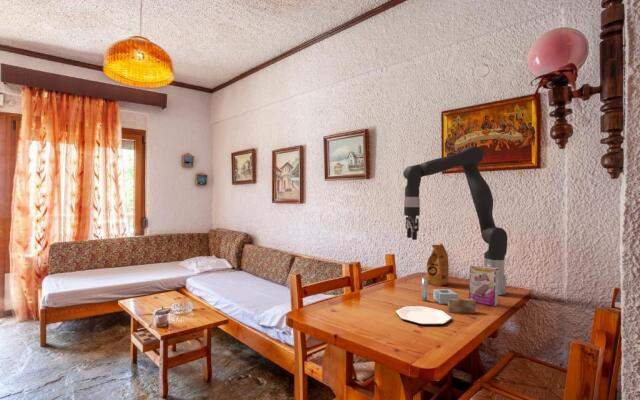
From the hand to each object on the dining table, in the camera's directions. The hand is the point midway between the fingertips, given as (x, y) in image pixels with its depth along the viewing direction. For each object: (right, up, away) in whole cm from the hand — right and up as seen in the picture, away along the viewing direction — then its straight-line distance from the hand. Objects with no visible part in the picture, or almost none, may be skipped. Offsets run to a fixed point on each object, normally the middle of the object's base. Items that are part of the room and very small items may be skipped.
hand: (411, 238), depth 170 cm
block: (+11, -27, -14) cm, 33 cm away
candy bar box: (+28, -28, -15) cm, 42 cm away
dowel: (+2, -27, -13) cm, 30 cm away
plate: (-5, -28, -35) cm, 45 cm away
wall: (+13, -27, -28) cm, 41 cm away
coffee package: (+19, -27, +20) cm, 39 cm away
